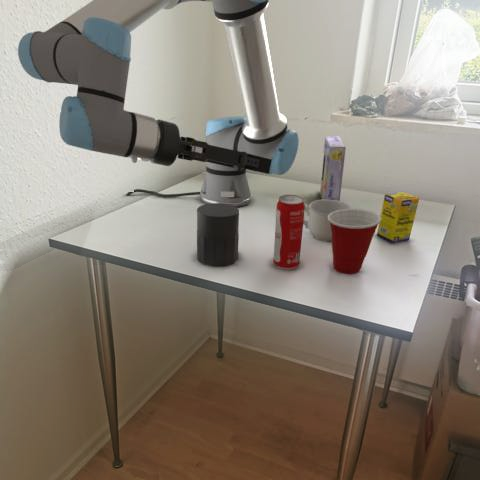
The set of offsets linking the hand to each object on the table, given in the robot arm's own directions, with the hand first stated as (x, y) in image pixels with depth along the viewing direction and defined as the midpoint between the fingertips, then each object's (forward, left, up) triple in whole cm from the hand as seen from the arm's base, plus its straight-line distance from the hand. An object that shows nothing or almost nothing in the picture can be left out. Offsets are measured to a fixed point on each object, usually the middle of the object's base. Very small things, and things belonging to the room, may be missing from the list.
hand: (250, 163), depth 96 cm
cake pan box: (+7, +51, -21) cm, 56 cm away
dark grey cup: (-6, -4, -20) cm, 21 cm away
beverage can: (+9, -1, -21) cm, 23 cm away
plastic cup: (+22, +4, -21) cm, 30 cm away
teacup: (+12, +20, -21) cm, 32 cm away
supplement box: (+29, +27, -21) cm, 45 cm away
